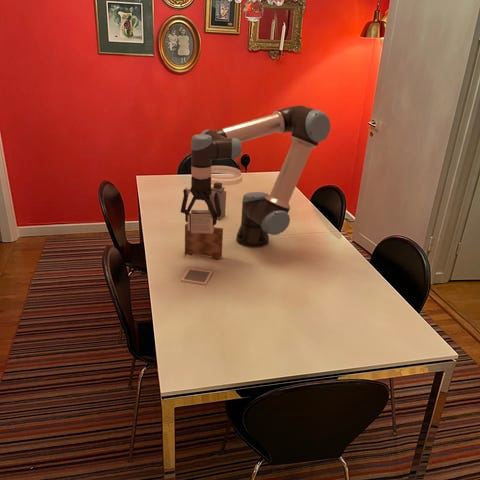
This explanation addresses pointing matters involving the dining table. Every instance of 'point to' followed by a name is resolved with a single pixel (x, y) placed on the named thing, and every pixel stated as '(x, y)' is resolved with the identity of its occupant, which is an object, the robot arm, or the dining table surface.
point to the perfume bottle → (221, 198)
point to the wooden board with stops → (204, 243)
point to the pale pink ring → (226, 180)
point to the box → (200, 221)
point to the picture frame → (196, 276)
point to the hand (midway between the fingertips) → (200, 230)
